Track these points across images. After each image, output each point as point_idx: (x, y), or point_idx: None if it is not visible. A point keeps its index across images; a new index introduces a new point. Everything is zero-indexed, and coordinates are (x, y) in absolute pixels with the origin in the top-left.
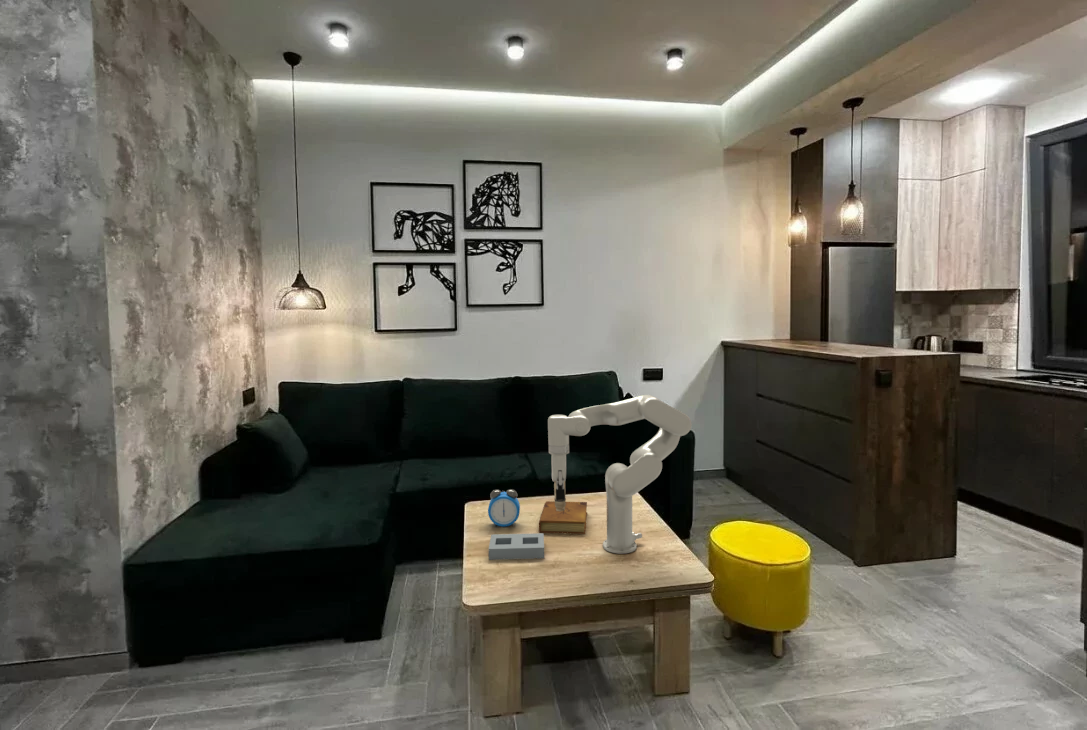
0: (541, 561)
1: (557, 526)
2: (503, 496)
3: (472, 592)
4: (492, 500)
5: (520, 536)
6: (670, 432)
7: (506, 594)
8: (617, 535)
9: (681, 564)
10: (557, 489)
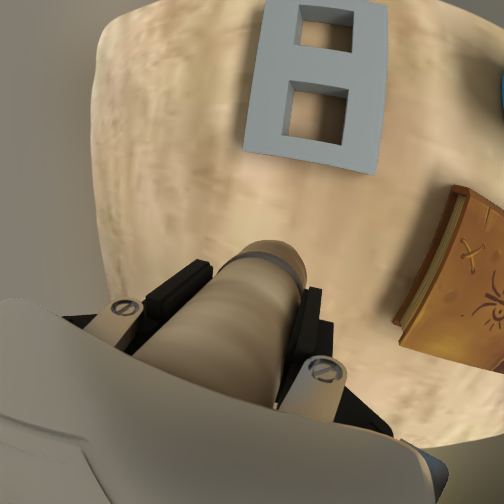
0: (234, 141)
1: (444, 252)
2: None
3: (133, 12)
4: None
5: (360, 83)
6: None
7: (110, 70)
8: None
9: None
10: (124, 306)
